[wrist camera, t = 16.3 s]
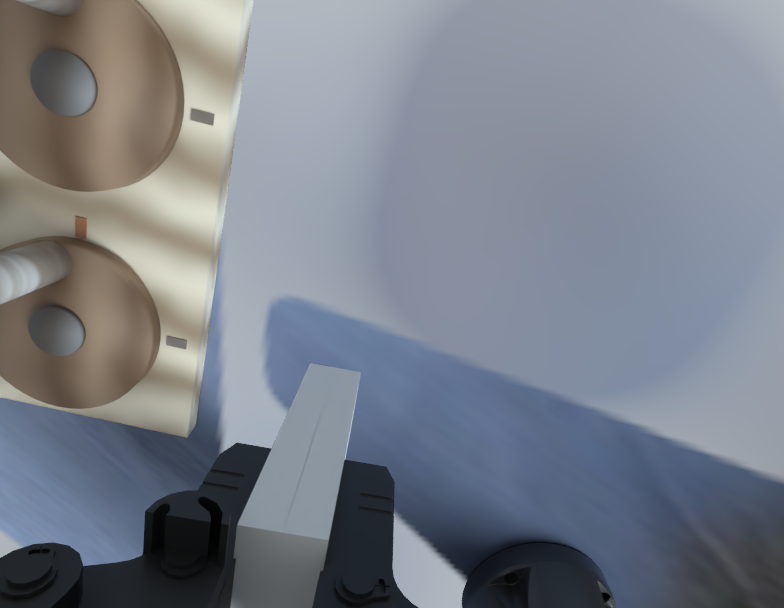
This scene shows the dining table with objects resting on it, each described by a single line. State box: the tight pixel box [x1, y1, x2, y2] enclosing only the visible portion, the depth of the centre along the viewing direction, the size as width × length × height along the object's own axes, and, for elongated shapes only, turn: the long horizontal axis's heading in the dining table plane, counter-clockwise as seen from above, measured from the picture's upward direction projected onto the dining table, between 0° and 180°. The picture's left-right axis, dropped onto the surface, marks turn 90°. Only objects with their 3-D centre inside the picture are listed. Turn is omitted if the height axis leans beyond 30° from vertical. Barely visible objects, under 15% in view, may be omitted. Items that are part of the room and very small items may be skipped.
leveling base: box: [0, 0, 254, 438], centre depth 37 cm, size 36×20×4 cm, turn 166°
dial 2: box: [0, 236, 161, 409], centre depth 36 cm, size 14×14×9 cm
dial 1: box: [0, 0, 184, 192], centre depth 30 cm, size 14×14×9 cm
